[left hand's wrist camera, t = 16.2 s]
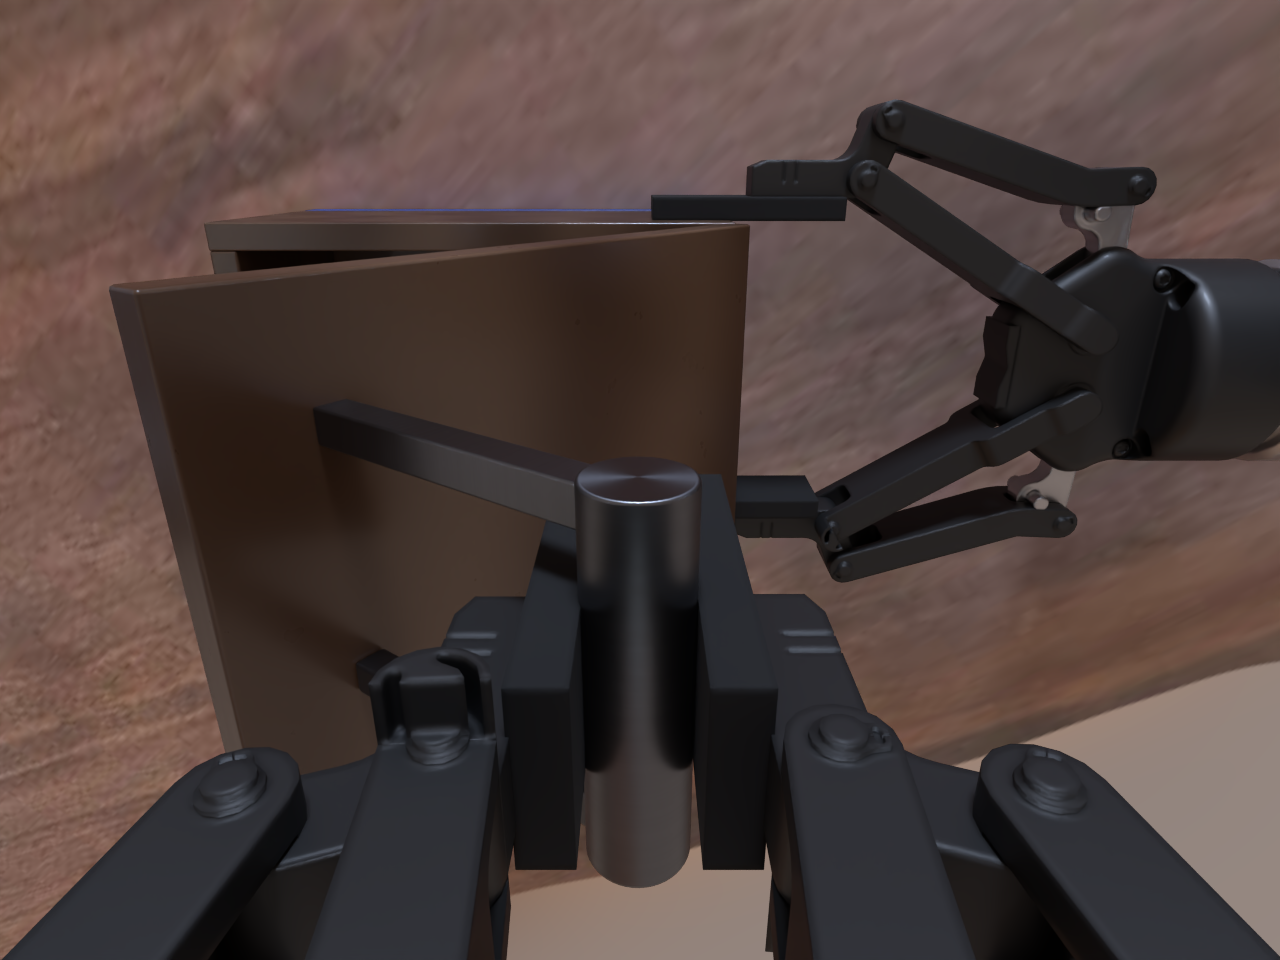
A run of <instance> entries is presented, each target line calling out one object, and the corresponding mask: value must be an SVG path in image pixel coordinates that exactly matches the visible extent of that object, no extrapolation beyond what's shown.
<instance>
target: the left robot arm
mask: <svg viewBox="0 0 1280 960" xmlns="http://www.w3.org/2000/svg"><path fill="white" fill-rule="evenodd" d="M699 475H700V478H701V480H702V501H701V531H700V561H699V591H698V620H697V650H696V680H695V711H694V740H693V764H694V775H695V786H696V797H697V808H698V820H699V831H700V842H701V852H702V864H703V870H764V862H765V849H766V844H767V849H768V855H769V860H770V865H771V870H772V879H771V891H770V902H769V914H768V926H767V937H766V949H765V951H766V952H773V957H774V960H1280V956H1279V955H1278V954H1277V953H1276V952H1275V951H1274V950H1273V949H1272V948H1271V947H1270V946H1269V945H1268V944H1267V943H1266V942H1265V941H1264V940H1263V939H1262V938H1261V937H1260V936H1259V935H1258V934H1257V933H1256V932H1255V931H1254V930H1253V929H1252V928H1251V927H1250V926H1249V925H1248V924H1247V923H1246V922H1245V921H1244V920H1243V919H1242V918H1241V917H1240V916H1239V915H1238V914H1237V913H1236V912H1235V911H1234V910H1233V909H1232V908H1231V907H1230V906H1229V905H1228V904H1227V903H1226V902H1225V901H1224V900H1223V899H1222V897H1221V896H1220V895H1219V894H1218V893H1217V892H1216V891H1215V890H1214V889H1213V888H1212V887H1211V886H1210V885H1209V884H1208V883H1207V882H1206V881H1205V880H1204V879H1203V878H1202V877H1201V876H1200V875H1199V874H1198V873H1197V872H1196V871H1195V870H1194V869H1193V868H1192V867H1191V866H1190V865H1189V864H1188V863H1187V862H1186V861H1185V860H1184V859H1183V858H1182V857H1181V856H1180V855H1179V854H1178V853H1177V852H1176V851H1175V850H1174V849H1173V848H1172V847H1171V846H1170V845H1169V844H1168V843H1167V842H1166V841H1165V840H1164V839H1163V838H1162V837H1161V836H1160V835H1159V834H1158V833H1157V832H1156V831H1155V830H1154V829H1153V828H1152V826H1151V825H1150V824H1149V823H1148V822H1147V821H1146V820H1145V819H1144V818H1143V817H1142V816H1141V815H1140V814H1139V813H1138V812H1137V811H1136V810H1135V809H1134V808H1133V807H1132V806H1131V805H1130V804H1129V803H1128V802H1127V801H1126V800H1125V799H1124V798H1123V797H1122V796H1121V795H1120V794H1119V793H1118V792H1117V791H1116V790H1115V789H1114V788H1113V787H1112V786H1111V785H1110V784H1109V783H1108V782H1107V781H1106V780H1105V779H1104V778H1103V777H1101V776H1100V775H1099V774H1097V773H1096V772H1095V771H1094V770H1092V769H1091V768H1090V767H1089V766H1087V765H1086V764H1085V763H1083V762H1081V761H1079V760H1077V759H1075V758H1073V757H1070V756H1068V755H1066V754H1064V753H1062V752H1060V751H1057V750H1053V749H1049V748H1045V747H1042V746H1038V745H1034V744H1008V745H1005V746H1002V747H999V748H995V749H992V750H991V751H990V752H989V754H988V755H987V756H986V757H985V758H984V759H983V760H982V762H981V767H980V772H976V771H972V770H968V769H963V768H959V767H955V766H950V765H946V764H941V763H937V762H934V761H931V760H927V759H924V758H921V757H918V756H916V755H914V754H912V753H910V752H907V751H905V750H904V748H903V745H902V743H901V741H900V740H899V738H898V737H897V735H896V733H895V732H894V730H893V729H892V728H891V727H889V726H888V725H887V724H886V723H884V722H883V721H882V720H881V719H879V718H878V717H877V716H875V715H872V714H870V713H868V712H867V710H866V708H865V705H864V703H863V700H862V698H861V696H860V693H859V691H858V689H857V686H856V684H855V681H854V679H853V677H852V674H851V672H850V670H849V667H848V665H847V663H846V660H845V658H844V655H843V653H841V648H840V646H839V644H838V641H837V639H836V636H834V632H833V629H832V627H831V625H830V622H829V620H828V617H827V615H826V613H825V611H824V610H822V609H821V608H820V607H819V606H818V605H817V604H815V603H814V602H813V601H812V600H811V599H810V598H808V597H807V596H806V595H805V594H753V592H752V588H751V584H750V580H749V577H748V573H747V569H746V566H745V562H744V558H743V554H742V551H741V547H740V543H739V540H738V536H737V532H736V528H735V525H734V521H733V517H732V513H731V510H730V506H729V502H728V499H727V495H726V491H725V487H724V484H723V480H722V476H721V474H699ZM368 687H369V693H370V699H371V706H372V712H373V718H374V725H375V731H376V737H377V744H378V746H377V749H376V752H375V753H374V754H372V755H370V756H368V757H366V758H364V759H362V760H359V761H355V762H352V763H349V764H346V765H342V766H338V767H334V768H330V769H325V770H321V771H317V772H312V773H308V774H304V775H300V771H299V766H298V763H297V762H296V761H295V760H294V759H293V758H292V757H291V756H290V755H289V754H288V753H287V752H284V751H281V750H277V749H274V748H271V747H252V748H243V749H239V750H235V751H232V752H228V753H224V754H220V755H218V756H216V757H214V758H212V759H210V760H208V761H206V762H204V763H202V764H200V765H198V766H196V767H194V768H193V769H192V770H191V771H189V772H188V773H187V774H186V775H184V776H183V777H182V778H180V779H179V780H178V781H177V782H175V783H174V784H173V785H172V786H171V787H170V788H169V789H168V790H167V791H166V792H165V794H164V795H163V796H162V797H161V798H160V799H159V800H158V801H157V802H156V803H155V804H154V805H153V806H152V807H151V808H150V809H149V810H148V811H147V812H146V813H145V814H144V815H143V816H142V817H141V818H140V819H139V820H138V821H137V822H136V823H135V824H134V825H133V826H132V827H131V828H130V829H129V830H128V831H127V832H126V833H125V834H124V835H123V836H122V837H121V838H120V839H119V840H118V842H117V843H116V844H115V845H114V846H113V847H112V848H111V849H110V850H109V851H108V852H107V853H106V854H105V855H104V856H103V857H102V858H101V859H100V860H99V861H98V862H97V863H96V864H95V865H94V866H93V867H92V868H91V869H90V870H89V871H88V872H87V873H86V874H85V875H84V876H83V877H82V878H81V879H80V880H79V881H78V882H77V883H76V884H75V885H74V886H73V887H72V888H71V889H70V891H69V892H68V893H67V894H66V895H65V896H64V897H63V898H62V899H61V900H60V901H59V902H58V903H57V904H56V905H55V906H54V907H53V908H52V909H51V910H50V911H49V912H48V913H47V914H46V915H45V916H44V917H43V918H42V919H41V920H40V921H39V922H38V923H37V924H36V925H35V926H34V927H33V928H32V929H31V930H30V931H29V932H28V933H27V934H26V935H25V936H24V937H23V938H22V940H21V941H20V942H19V943H18V944H17V945H16V946H15V947H14V948H13V949H12V950H11V951H10V952H9V953H8V954H7V955H6V956H5V957H4V958H3V959H2V960H506V958H507V946H508V934H509V922H510V910H511V903H510V891H509V879H508V871H509V865H510V860H511V855H512V849H513V845H514V857H515V869H516V870H576V868H577V857H578V846H579V835H580V824H581V813H582V802H583V791H584V780H585V769H586V765H585V735H584V705H583V675H582V645H581V615H580V604H579V602H578V586H577V556H576V530H574V529H571V528H568V527H565V526H562V525H559V524H556V523H553V522H550V521H547V520H546V523H545V526H544V530H543V534H542V537H541V541H540V545H539V548H538V552H537V556H536V560H535V563H534V567H533V571H532V574H531V578H530V582H529V586H528V589H527V593H526V596H475V597H474V598H473V599H472V600H470V601H469V602H468V603H467V604H466V605H465V606H463V607H462V608H461V609H460V610H459V611H458V612H456V613H455V614H454V617H453V619H452V621H451V624H450V626H449V629H448V631H447V633H446V639H444V641H443V643H442V645H441V647H435V648H428V649H421V650H416V651H413V652H411V653H408V654H405V655H403V656H400V657H398V658H395V659H394V660H392V661H391V662H389V663H388V664H386V665H385V666H384V667H382V668H381V669H379V670H378V671H377V673H376V674H375V675H374V677H373V678H372V680H371V681H370V682H369V684H368Z"/></svg>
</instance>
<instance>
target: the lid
mask: <svg viewBox="0 0 1280 960" xmlns="http://www.w3.org/2000/svg"><path fill="white" fill-rule="evenodd" d="M749 233H750V226H749V225H748V224H717V225H707V226H697V227H687V228H676V229H666V230H656V231H646V232H636V233H626V234H616V235H606V236H596V237H586V238H576V239H566V240H556V241H546V242H536V243H525V244H515V245H505V246H495V247H485V248H475V249H465V250H455V251H445V252H435V253H425V254H415V255H405V256H395V257H385V258H375V259H364V260H354V261H344V262H334V263H324V264H314V265H304V266H294V267H284V268H274V269H264V270H254V271H244V272H234V273H224V274H213V275H203V276H193V277H183V278H173V279H163V280H153V281H143V282H133V283H123V284H114V285H112V286H110V287H109V292H110V296H111V300H112V304H113V308H114V312H115V316H116V320H117V324H118V328H119V332H120V336H121V340H122V344H123V348H124V352H125V356H126V360H127V364H128V368H129V371H130V375H131V379H132V383H133V387H134V391H135V395H136V399H137V403H138V407H139V411H140V415H141V419H142V423H143V427H144V431H145V435H146V439H147V443H148V447H149V451H150V455H151V459H152V463H153V467H154V471H155V475H156V479H157V483H158V487H159V491H160V495H161V499H162V503H163V507H164V511H165V514H166V518H167V522H168V526H169V530H170V534H171V538H172V542H173V546H174V550H175V554H176V558H177V562H178V566H179V570H180V574H181V578H182V582H183V586H184V590H185V594H186V598H187V602H188V606H189V610H190V614H191V618H192V622H193V626H194V630H195V634H196V638H197V642H198V646H199V650H200V654H201V657H202V661H203V665H204V669H205V673H206V677H207V681H208V685H209V689H210V693H211V697H212V701H213V705H214V709H215V713H216V717H217V721H218V725H219V729H220V733H221V737H222V741H223V745H224V749H225V753H228V752H232V751H235V750H239V749H243V748H252V747H271V748H274V749H277V750H281V751H284V752H287V753H288V754H289V755H290V756H291V757H292V758H293V759H294V760H295V761H296V762H297V763H298V766H299V771H300V775H304V774H308V773H312V772H317V771H321V770H325V769H330V768H334V767H338V766H342V765H346V764H349V763H352V762H355V761H359V760H362V759H364V758H366V757H368V756H370V755H372V754H374V753H375V752H376V749H377V746H378V744H377V737H376V731H375V725H374V718H373V712H372V706H371V699H370V693H369V687H368V684H369V682H370V681H371V680H372V678H373V677H374V675H375V674H376V673H377V671H378V670H379V669H381V668H382V667H384V666H385V665H386V664H388V663H389V662H391V661H392V660H394V659H395V658H398V657H400V656H403V655H405V654H408V653H411V652H413V651H416V650H421V649H428V648H435V647H441V645H442V643H443V641H444V639H446V633H447V631H448V629H449V626H450V624H451V621H452V619H453V617H454V614H455V613H456V612H458V611H459V610H460V609H461V608H462V607H463V606H465V605H466V604H467V603H468V602H469V601H470V600H472V599H473V598H474V597H475V596H526V593H527V589H528V586H529V582H530V578H531V574H532V571H533V567H534V563H535V560H536V556H537V552H538V548H539V545H540V541H541V537H542V534H543V530H544V526H545V523H546V520H547V521H550V522H553V523H556V524H559V525H562V526H565V527H568V528H571V529H574V530H576V556H577V586H578V602H579V604H580V615H581V645H582V675H583V705H584V735H585V765H586V769H585V780H584V791H583V802H582V813H581V824H582V825H584V826H586V849H587V854H588V857H589V860H590V861H591V863H592V865H593V866H594V868H595V869H596V870H597V871H598V872H599V873H600V874H601V875H602V876H603V877H605V878H606V879H607V880H609V881H611V882H613V883H616V884H618V885H621V886H625V887H631V888H644V887H651V886H655V885H658V884H661V883H663V882H665V881H667V880H668V879H670V878H672V877H673V876H674V875H675V874H676V873H677V872H678V871H679V870H680V869H681V868H682V866H683V865H684V863H685V862H686V860H687V857H688V854H689V850H690V830H691V800H692V770H693V740H694V711H695V680H696V650H697V620H698V591H699V561H700V531H701V501H702V480H701V478H700V475H699V474H721V476H722V480H723V484H724V487H725V491H726V495H727V499H728V502H729V506H730V510H731V513H732V517H733V521H734V523H735V504H736V485H737V466H738V446H739V427H740V407H741V388H742V368H743V349H744V330H745V310H746V291H747V271H748V252H749Z"/></svg>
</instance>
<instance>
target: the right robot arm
mask: <svg viewBox="0 0 1280 960" xmlns="http://www.w3.org/2000/svg"><path fill="white" fill-rule="evenodd" d="M856 128H857V129H856V132H855V134H854V137H853V139H852V141H851V144H850V146H849V147H848V149H847V150H846V152H845V153H844V154H843V155H841V156H840V157H839V158H837V159H834V160H763V161H760V162H757V163H755V164H753V165H750V166H748V167H747V180H746V195H651V217H652V220H730V221H845V216H846V205H847V200H849V201H850V202H852V203H853V204H854V205H856V206H857V207H859V208H860V209H862V210H863V211H865V212H866V213H868V214H869V215H871V216H872V217H873V218H875V219H876V220H878V221H879V222H881V223H882V224H884V225H885V226H887V227H888V228H890V229H891V230H892V231H894V232H895V233H897V234H898V235H900V236H901V237H903V238H904V239H906V240H907V241H908V242H910V243H911V244H913V245H914V246H916V247H917V248H919V249H920V250H922V251H923V252H925V253H926V254H927V255H929V256H930V257H932V258H933V259H935V260H936V261H938V262H939V263H941V264H942V265H944V266H945V267H946V268H948V269H949V270H951V271H952V272H954V273H955V274H957V275H958V276H960V277H961V278H963V279H964V280H965V281H967V282H968V283H969V284H970V285H971V286H972V287H973V288H975V289H976V290H977V291H979V292H980V293H982V294H983V295H985V296H986V297H988V298H989V299H990V300H992V301H993V302H995V303H996V304H998V305H999V306H998V307H997V308H996V310H995V312H994V314H993V316H986V321H985V327H984V333H983V340H984V350H985V357H984V360H983V362H982V364H981V367H980V369H979V371H978V373H977V376H976V382H975V388H974V394H973V395H975V396H977V397H978V398H979V400H977V401H975V402H973V403H971V404H969V405H967V406H966V407H964V408H962V409H960V410H958V411H956V412H955V413H953V414H952V415H951V416H950V418H949V421H948V422H947V423H945V424H943V425H941V426H940V427H938V428H936V429H934V430H932V431H930V432H928V433H926V434H925V435H923V436H921V437H919V438H917V439H915V440H913V441H911V442H910V443H908V444H906V445H904V446H902V447H900V448H898V449H896V450H895V451H893V452H891V453H889V454H887V455H885V456H883V457H881V458H880V459H878V460H876V461H874V462H872V463H870V464H868V465H866V466H865V467H863V468H861V469H859V470H857V471H855V472H853V473H851V474H850V475H848V476H846V477H844V478H842V479H840V480H838V481H836V482H835V483H833V484H831V485H829V486H827V487H825V488H823V489H821V490H820V491H818V492H816V493H814V491H813V490H812V488H811V486H810V484H809V482H808V480H807V479H806V477H805V475H804V476H737V485H736V504H735V523H734V525H735V528H736V532H737V535H740V536H743V537H745V538H760V537H762V538H770V537H772V538H809V539H812V540H814V541H815V542H816V543H817V548H818V550H819V553H820V555H821V557H822V559H823V561H824V563H825V565H826V567H827V569H828V571H829V573H830V575H831V577H832V578H833V579H834V580H835V581H837V582H841V583H842V582H849V581H853V580H856V579H860V578H864V577H867V576H871V575H875V574H879V573H882V572H886V571H890V570H893V569H897V568H901V567H905V566H908V565H912V564H916V563H919V562H923V561H927V560H930V559H934V558H938V557H942V556H945V555H949V554H953V553H956V552H960V551H964V550H967V549H971V548H975V547H979V546H982V545H986V544H990V543H993V542H997V541H1001V540H1005V539H1008V538H1012V537H1016V536H1024V537H1050V538H1061V537H1065V536H1067V535H1069V534H1071V533H1072V532H1073V531H1074V530H1075V528H1076V526H1077V518H1076V515H1075V514H1074V513H1072V512H1071V511H1070V510H1069V509H1067V508H1066V506H1067V502H1068V498H1069V494H1070V491H1071V487H1072V483H1073V480H1074V476H1075V472H1076V471H1079V470H1082V469H1084V468H1087V467H1089V466H1091V465H1093V464H1095V463H1098V462H1101V461H1105V460H1111V459H1118V460H1136V461H1219V460H1228V459H1232V458H1233V459H1239V460H1245V461H1280V259H1265V260H1262V261H1254V260H1249V259H1144V258H1142V257H1140V256H1138V255H1137V254H1135V253H1134V252H1133V251H1131V250H1129V249H1127V245H1128V239H1129V234H1130V228H1131V223H1132V218H1133V212H1134V207H1135V205H1139V204H1142V203H1144V202H1145V201H1147V200H1148V199H1149V198H1150V197H1151V196H1152V194H1153V193H1154V191H1155V188H1156V186H1157V178H1156V176H1155V174H1154V172H1153V171H1152V170H1150V169H1149V168H1145V167H1104V168H1086V167H1083V166H1081V165H1078V164H1075V163H1072V162H1070V161H1067V160H1064V159H1061V158H1059V157H1056V156H1053V155H1050V154H1048V153H1045V152H1042V151H1039V150H1037V149H1034V148H1031V147H1028V146H1026V145H1023V144H1020V143H1017V142H1015V141H1012V140H1009V139H1006V138H1004V137H1001V136H998V135H995V134H993V133H990V132H987V131H985V130H982V129H979V128H976V127H974V126H971V125H968V124H965V123H963V122H960V121H957V120H954V119H952V118H949V117H946V116H943V115H941V114H938V113H935V112H932V111H930V110H927V109H924V108H921V107H919V106H916V105H913V104H910V103H908V102H905V101H902V100H892V101H888V102H884V103H881V104H877V105H874V106H871V107H868V108H866V109H865V110H864V111H863V112H861V114H860V116H859V117H858V119H857V125H856ZM894 153H898V154H901V155H904V156H907V157H909V158H912V159H915V160H918V161H921V162H924V163H926V164H929V165H932V166H935V167H938V168H940V169H943V170H946V171H949V172H952V173H954V174H957V175H960V176H963V177H966V178H968V179H971V180H974V181H977V182H980V183H983V184H985V185H988V186H991V187H994V188H997V189H999V190H1002V191H1005V192H1008V193H1011V194H1013V195H1016V196H1019V197H1022V198H1025V199H1028V200H1031V201H1035V202H1039V203H1046V204H1054V205H1062V206H1061V208H1060V215H1061V218H1062V221H1063V223H1064V224H1065V225H1066V226H1068V227H1070V228H1073V229H1077V230H1079V231H1081V232H1082V233H1083V235H1084V237H1085V240H1086V246H1085V247H1084V248H1081V249H1080V250H1078V251H1076V252H1075V253H1073V254H1072V255H1070V256H1069V257H1067V258H1066V259H1064V260H1063V261H1061V262H1059V263H1058V264H1056V265H1055V266H1053V267H1052V268H1050V269H1049V270H1047V271H1046V272H1044V273H1043V274H1041V273H1039V272H1038V271H1036V270H1034V269H1033V268H1031V267H1029V266H1027V265H1025V264H1023V263H1021V262H1019V261H1018V260H1016V259H1015V258H1013V257H1012V256H1011V255H1009V254H1008V253H1006V252H1005V251H1003V250H1002V249H1001V248H999V247H998V246H996V245H995V244H994V243H992V242H991V241H989V240H988V239H986V238H985V237H984V236H982V235H981V234H979V233H978V232H976V231H975V230H974V229H972V228H971V227H969V226H968V225H967V224H965V223H964V222H962V221H961V220H959V219H958V218H957V217H955V216H954V215H952V214H951V213H949V212H948V211H947V210H945V209H944V208H942V207H941V206H939V205H938V204H937V203H935V202H934V201H932V200H931V199H930V198H928V197H927V196H925V195H924V194H922V193H921V192H920V191H918V190H917V189H915V188H914V187H912V186H911V185H910V184H908V183H907V182H905V181H904V180H903V179H901V178H900V177H898V176H897V175H895V174H894V173H893V172H891V171H890V170H888V167H889V164H890V162H891V160H892V158H893V156H894ZM996 426H999V427H996ZM994 427H996V428H994ZM1028 451H1031V452H1032V453H1033V454H1034V455H1036V456H1037V457H1038V458H1040V459H1041V461H1040V464H1039V466H1038V467H1037V468H1036V469H1035V470H1034V471H1033V472H1031V473H1029V474H1026V475H1021V476H1012V477H1010V478H1009V479H1008V481H1007V485H1008V486H994V487H986V488H982V489H977V490H973V491H970V492H966V493H962V494H959V495H955V496H952V497H948V498H945V499H941V500H937V501H934V502H930V503H927V504H923V505H919V506H916V507H912V508H909V509H905V510H901V511H899V510H900V509H902V508H904V507H906V506H908V505H910V504H912V503H914V502H916V501H918V500H920V499H922V498H924V497H926V496H928V495H930V494H931V493H933V492H935V491H937V490H939V489H941V488H943V487H945V486H947V485H949V484H951V483H953V482H955V481H957V480H959V479H960V478H962V477H964V476H966V475H968V474H970V473H972V472H974V471H976V470H978V469H980V468H982V467H986V466H988V467H995V466H999V465H1002V464H1004V463H1006V462H1008V461H1010V460H1012V459H1014V458H1016V457H1018V456H1020V455H1022V454H1024V453H1026V452H1028ZM897 511H898V512H897Z"/></svg>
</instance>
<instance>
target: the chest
mask: <svg viewBox="0 0 1280 960" xmlns="http://www.w3.org/2000/svg"><path fill="white" fill-rule="evenodd" d="M717 224H736V223H734V222H732V221H730V220H652V217H651V209H313V210H305V211H300V212H291V213H283V214H274V215H266V216H257V217H249V218H240V219H232V220H223V221H215V222H206V223H204V226H205V231H206V236H207V241H208V246H209V250H210V251H211V259H212V264H213V269H214V274H224V273H234V272H244V271H254V270H264V269H274V268H284V267H294V266H304V265H314V264H324V263H334V262H344V261H354V260H364V259H375V258H385V257H395V256H405V255H415V254H425V253H435V252H445V251H455V250H465V249H475V248H485V247H495V246H505V245H515V244H525V243H536V242H546V241H556V240H566V239H576V238H586V237H596V236H606V235H616V234H626V233H636V232H646V231H656V230H666V229H676V228H687V227H697V226H707V225H717Z"/></svg>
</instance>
